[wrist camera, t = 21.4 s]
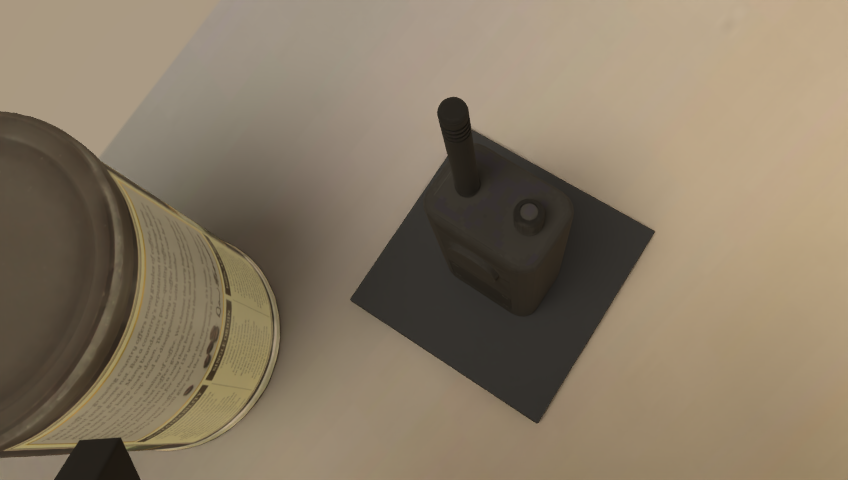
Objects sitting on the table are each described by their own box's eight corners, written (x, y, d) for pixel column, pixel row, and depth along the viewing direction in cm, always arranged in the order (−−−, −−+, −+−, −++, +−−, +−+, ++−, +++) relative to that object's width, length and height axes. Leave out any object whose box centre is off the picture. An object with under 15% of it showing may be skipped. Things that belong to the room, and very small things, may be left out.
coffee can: (97, 484, 32) (-208, 520, 19) (60, 276, 35) (-225, 177, 22) (308, 410, 32) (154, 392, 18) (253, 206, 35) (85, 61, 21)
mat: (351, 301, 33) (349, 299, 32) (467, 130, 34) (467, 126, 34) (537, 423, 30) (537, 423, 30) (653, 233, 32) (655, 231, 32)
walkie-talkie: (565, 266, 32) (604, 126, 17) (523, 328, 31) (528, 238, 17) (475, 210, 33) (443, 37, 18) (434, 269, 32) (368, 138, 18)
